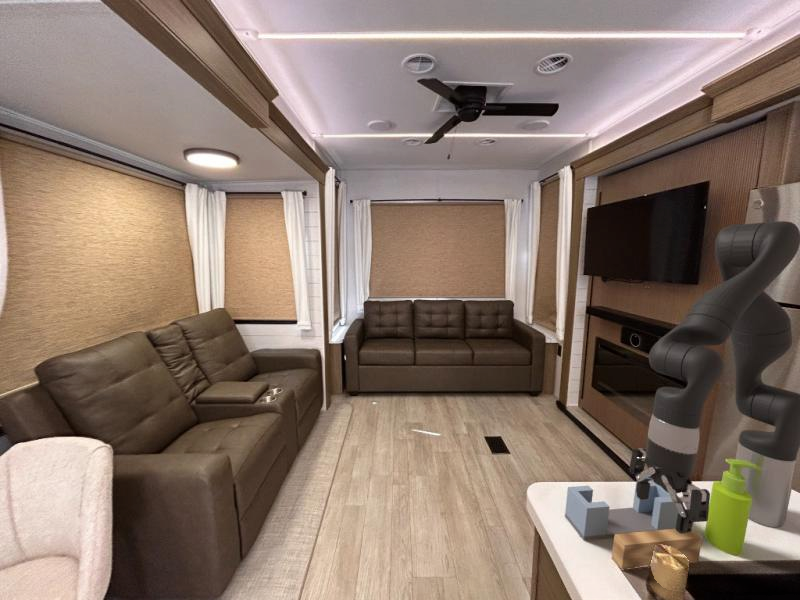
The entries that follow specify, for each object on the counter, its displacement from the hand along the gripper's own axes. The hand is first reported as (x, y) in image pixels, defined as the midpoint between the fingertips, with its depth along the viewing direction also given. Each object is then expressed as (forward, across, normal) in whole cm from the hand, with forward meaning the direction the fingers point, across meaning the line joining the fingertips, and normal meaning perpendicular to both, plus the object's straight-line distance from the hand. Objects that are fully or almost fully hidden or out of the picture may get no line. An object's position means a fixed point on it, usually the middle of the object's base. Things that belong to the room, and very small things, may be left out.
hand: (660, 513), depth 63 cm
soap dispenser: (+11, +2, -20) cm, 23 cm away
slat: (+11, 0, 0) cm, 11 cm away
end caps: (+11, +9, 0) cm, 14 cm away
